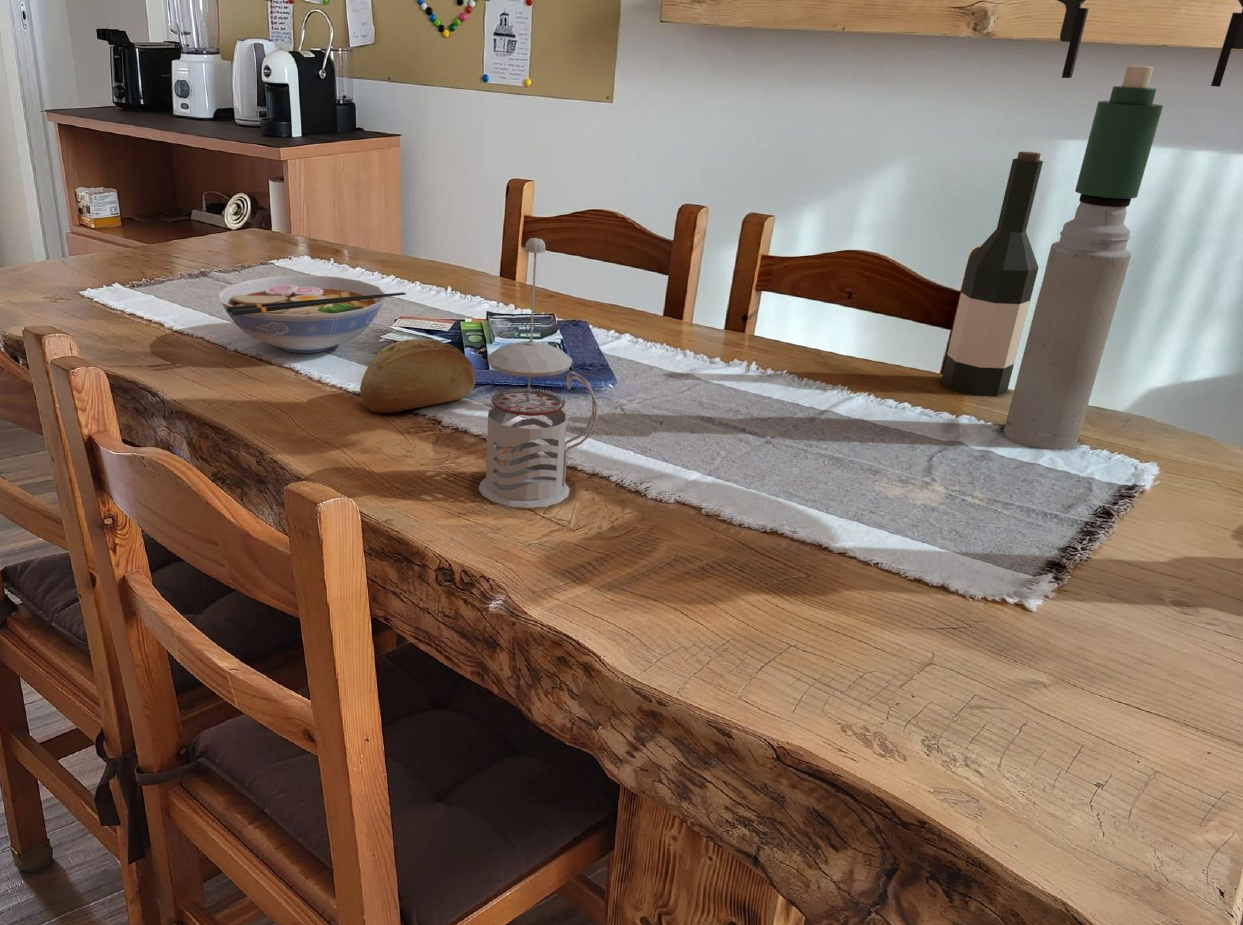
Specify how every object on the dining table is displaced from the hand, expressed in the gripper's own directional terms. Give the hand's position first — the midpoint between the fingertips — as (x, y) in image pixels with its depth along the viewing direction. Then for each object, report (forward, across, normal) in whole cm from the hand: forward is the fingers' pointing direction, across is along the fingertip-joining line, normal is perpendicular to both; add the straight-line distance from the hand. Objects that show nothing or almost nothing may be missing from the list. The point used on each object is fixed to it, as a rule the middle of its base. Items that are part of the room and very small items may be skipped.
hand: (1138, 82), depth 110 cm
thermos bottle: (+39, 0, 0) cm, 39 cm away
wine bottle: (+39, -10, +16) cm, 44 cm away
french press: (+39, -42, -48) cm, 75 cm away
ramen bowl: (+39, -93, -22) cm, 103 cm away
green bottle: (+11, 0, 0) cm, 11 cm away
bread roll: (+39, -66, -33) cm, 84 cm away
